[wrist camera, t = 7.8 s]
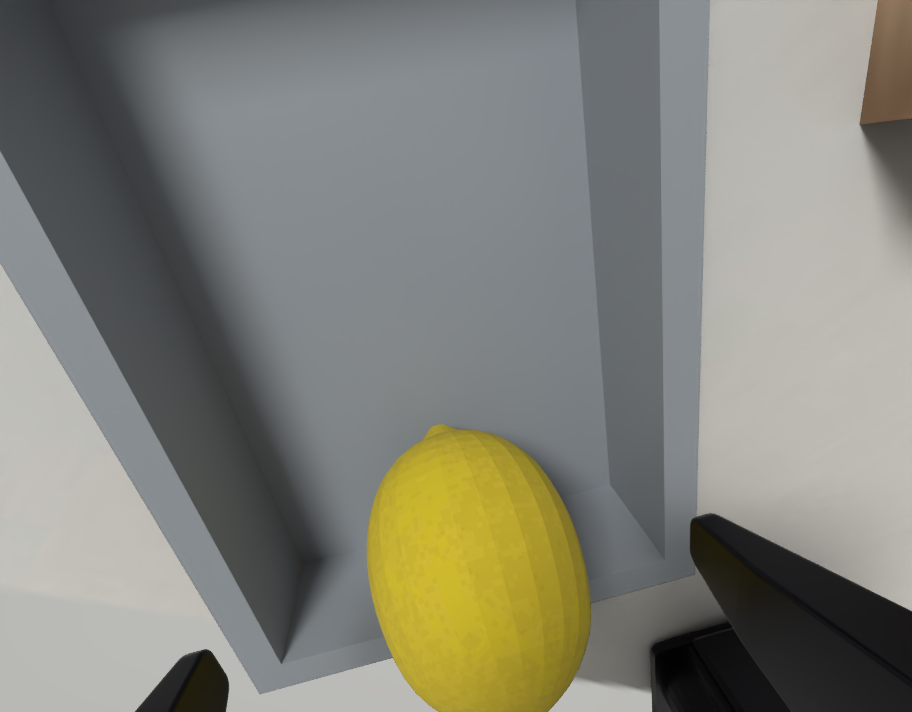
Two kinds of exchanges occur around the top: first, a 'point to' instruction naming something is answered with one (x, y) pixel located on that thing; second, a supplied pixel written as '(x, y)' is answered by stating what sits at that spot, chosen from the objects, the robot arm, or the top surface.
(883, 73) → the walnut cube
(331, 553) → the tote
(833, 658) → the robot arm
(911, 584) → the top surface
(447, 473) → the lemon
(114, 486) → the top surface
